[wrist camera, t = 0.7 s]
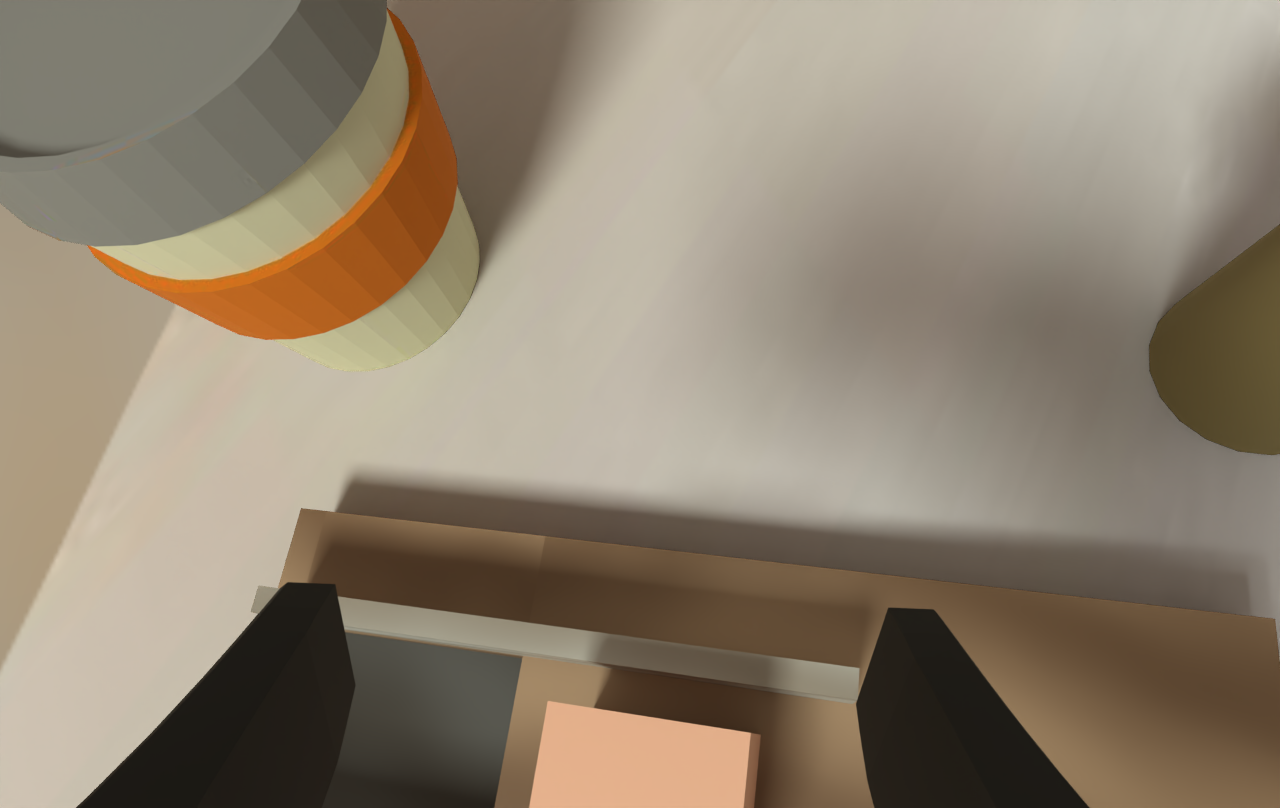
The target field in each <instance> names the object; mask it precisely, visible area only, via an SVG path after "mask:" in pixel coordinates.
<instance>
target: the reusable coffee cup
mask: <svg viewBox="0 0 1280 808" xmlns="http://www.w3.org/2000/svg"><path fill="white" fill-rule="evenodd" d="M457 184H458V179H457V158H456V155H455V152H454V148H453V145H452V142H451V138H450V135H449V133H448V130H447V127H446V125H445V122H444V120H443V117H442V114H441V112H440V109H439V106H438V104H437V101H436V99H435V96H434V93H433V91H432V88H431V86H430V83H429V80H428V78H427V75H426V73H425V70H424V67H423V65H422V62H421V59H420V57H419V54H418V52H417V49H416V46H415V44H414V41H413V40H412V38H411V37H410V35H409V33H408V32H407V30H406V29H405V27H404V25H403V24H402V22H401V21H400V19H399V18H398V17H396V16H395V15H394V14H393V13H392V12H391V11H390V10H389V9H388V8H387V0H0V203H1V204H2V205H3V206H4V207H5V208H6V209H8V210H9V211H10V212H11V213H12V214H14V215H15V216H16V217H17V218H18V219H20V220H21V221H22V222H23V223H24V224H26V225H27V226H28V227H30V228H32V229H35V230H37V231H39V232H41V233H44V234H46V235H48V236H50V237H53V238H55V239H57V240H60V241H66V242H71V243H78V244H84V245H87V246H88V247H89V249H90V250H91V252H92V253H93V255H94V256H95V257H96V258H97V259H98V260H99V261H101V262H102V263H103V264H104V265H105V266H106V267H108V268H109V269H110V270H112V271H113V272H114V273H115V274H116V275H118V276H120V277H122V278H124V279H126V280H128V281H130V282H132V283H134V284H137V285H138V286H140V287H142V288H144V289H146V290H148V291H150V292H152V293H154V294H156V295H158V296H160V297H162V298H165V299H167V300H169V301H171V302H173V303H175V304H177V305H179V306H181V307H183V308H185V309H187V310H189V311H191V312H193V313H195V314H197V315H199V316H201V317H203V318H205V319H207V320H209V321H211V322H213V323H215V324H217V325H219V326H221V327H224V328H226V329H228V330H230V331H233V332H235V333H237V334H239V335H244V336H249V337H254V338H260V339H265V340H274V341H276V342H278V343H280V344H282V345H284V346H286V347H288V348H289V349H291V350H293V351H295V352H297V353H299V354H301V355H303V356H305V357H307V358H309V359H311V360H313V361H315V362H317V363H320V364H322V365H324V366H326V367H328V368H333V369H338V370H343V371H371V370H376V369H381V368H386V367H390V366H392V365H395V364H397V363H400V362H403V361H405V360H408V359H410V358H411V357H413V356H415V355H416V354H418V353H420V352H422V351H423V350H425V349H427V348H428V347H429V346H431V345H432V344H433V343H434V342H435V341H436V340H438V339H439V338H440V337H441V336H442V335H444V334H445V333H446V332H447V330H448V329H449V328H450V327H451V326H452V324H453V323H454V322H455V321H456V320H457V319H458V317H459V316H460V314H461V313H462V311H463V309H464V308H465V306H466V304H467V303H468V301H469V299H470V297H471V294H472V291H473V289H474V286H475V283H476V281H477V275H478V269H479V263H480V256H479V242H478V239H477V235H476V232H475V229H474V226H473V223H472V221H471V218H470V216H469V213H468V211H467V208H466V206H465V203H464V201H463V198H462V196H461V193H460V191H459V188H458V186H457Z"/></svg>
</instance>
